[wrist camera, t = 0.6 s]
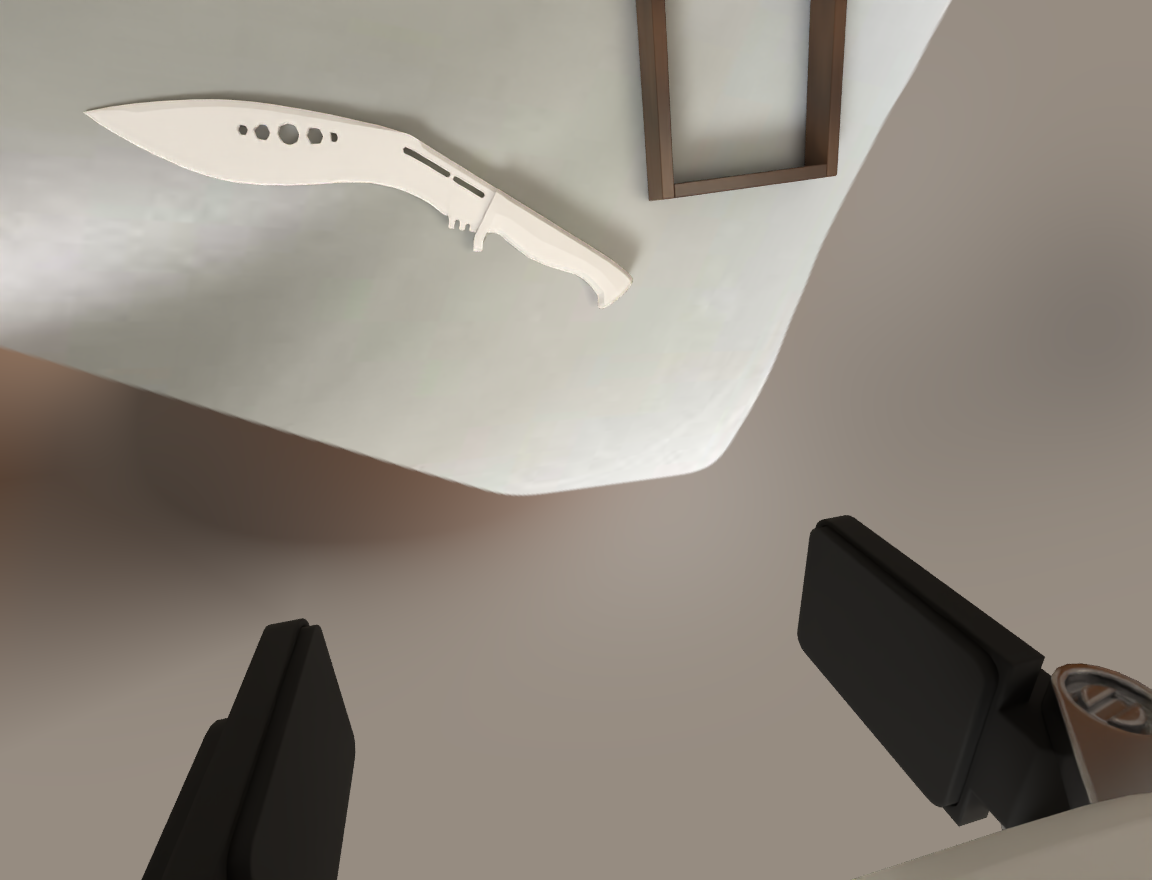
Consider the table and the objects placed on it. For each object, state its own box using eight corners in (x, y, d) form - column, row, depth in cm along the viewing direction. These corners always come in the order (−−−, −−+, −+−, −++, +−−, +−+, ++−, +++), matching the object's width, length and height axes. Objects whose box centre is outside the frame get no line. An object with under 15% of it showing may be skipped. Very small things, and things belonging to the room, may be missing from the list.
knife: (71, 114, 27) (117, -50, 26) (91, 119, 29) (136, -34, 27) (581, 379, 38) (640, 275, 36) (576, 372, 39) (632, 273, 37)
